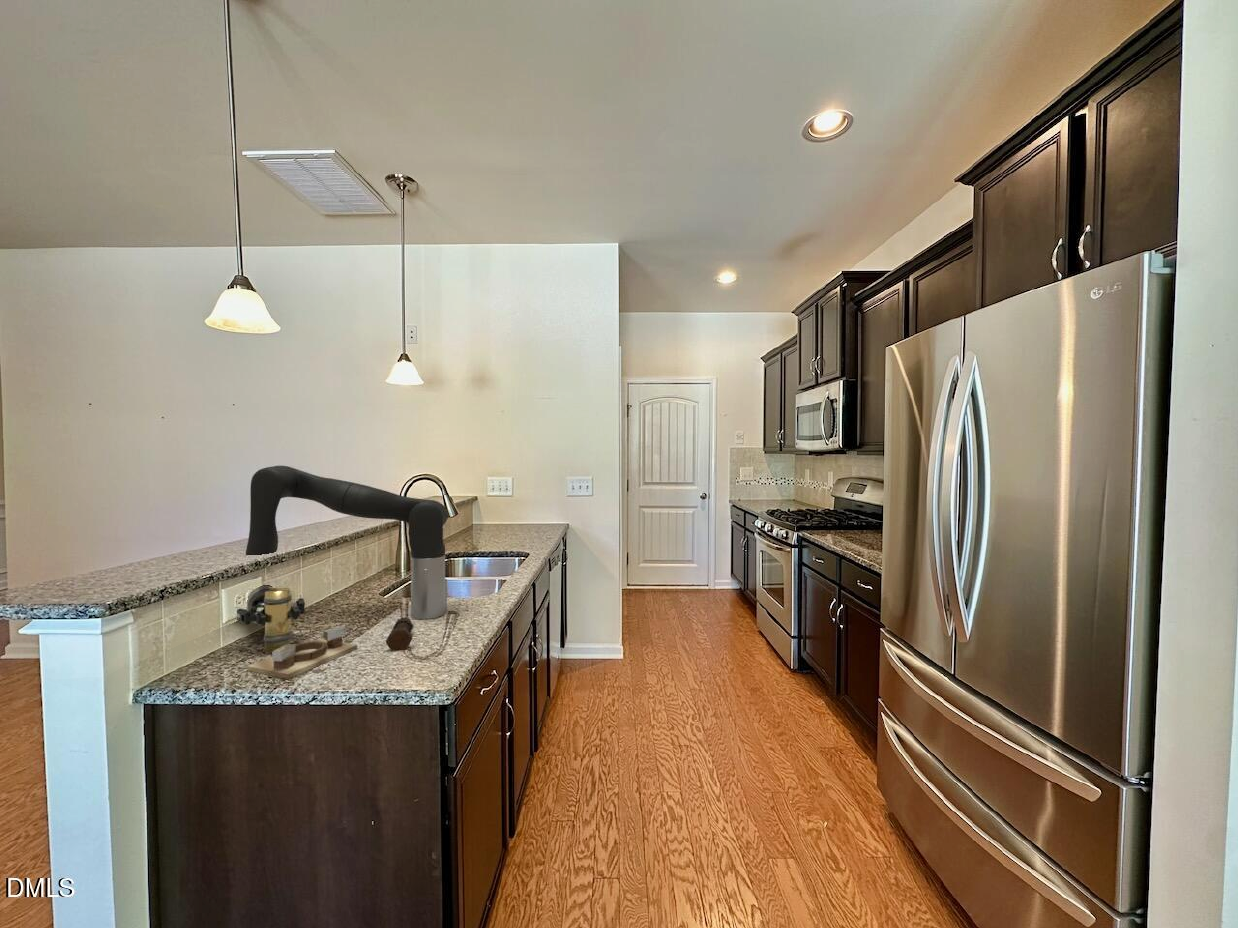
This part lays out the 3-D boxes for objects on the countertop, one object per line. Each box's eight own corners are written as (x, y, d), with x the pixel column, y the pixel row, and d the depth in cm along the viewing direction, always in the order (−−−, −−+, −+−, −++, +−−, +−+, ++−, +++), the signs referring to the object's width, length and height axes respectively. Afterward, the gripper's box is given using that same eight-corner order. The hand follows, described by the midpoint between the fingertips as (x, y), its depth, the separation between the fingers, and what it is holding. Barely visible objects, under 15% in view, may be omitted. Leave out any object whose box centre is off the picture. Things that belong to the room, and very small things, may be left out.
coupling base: (320, 642, 119) (320, 630, 119) (357, 648, 115) (357, 636, 115) (247, 670, 103) (247, 656, 103) (287, 679, 99) (287, 664, 99)
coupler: (281, 643, 118) (281, 586, 118) (297, 646, 116) (297, 588, 116) (258, 651, 113) (258, 592, 113) (274, 654, 111) (274, 594, 111)
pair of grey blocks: (338, 633, 117) (338, 625, 117) (347, 635, 116) (347, 626, 116) (268, 660, 101) (268, 650, 101) (278, 662, 100) (278, 652, 100)
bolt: (407, 636, 129) (402, 656, 114) (389, 628, 127) (381, 647, 113) (419, 616, 130) (415, 633, 115) (401, 608, 128) (395, 624, 114)
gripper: (230, 593, 119) (241, 608, 108) (298, 583, 130) (315, 595, 118) (230, 623, 119) (241, 642, 108) (298, 611, 130) (315, 626, 118)
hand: (280, 617), depth 113 cm, fingers open, 5 cm apart
